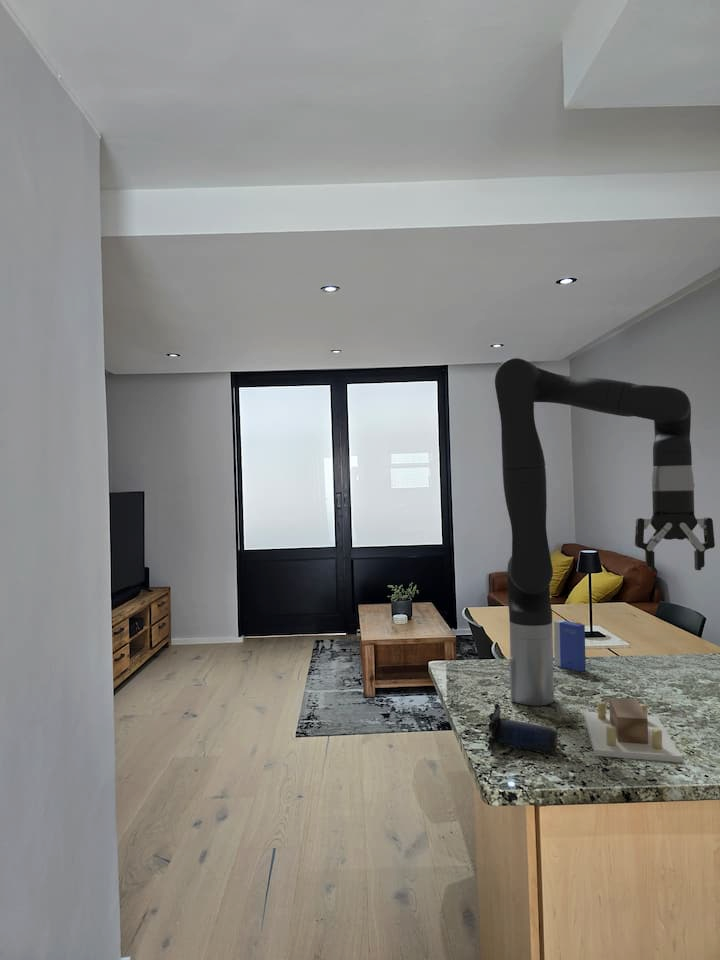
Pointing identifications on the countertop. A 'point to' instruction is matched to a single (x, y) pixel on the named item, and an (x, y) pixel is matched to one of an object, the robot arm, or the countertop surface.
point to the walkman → (569, 645)
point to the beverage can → (521, 734)
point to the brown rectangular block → (629, 721)
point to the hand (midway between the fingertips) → (674, 569)
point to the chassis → (609, 746)
